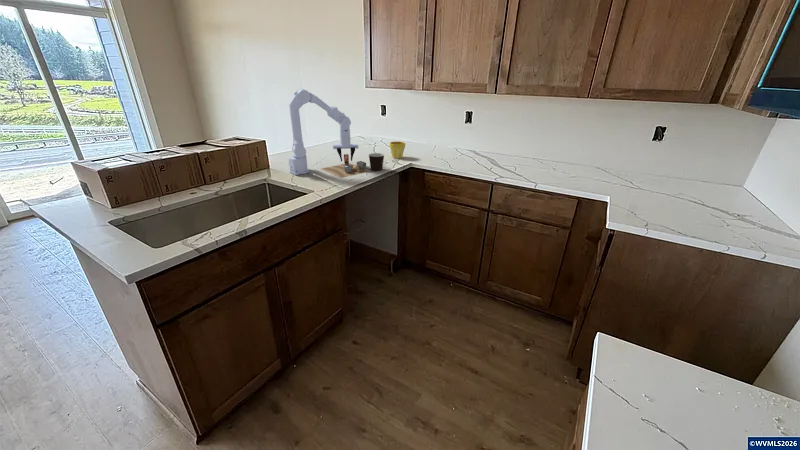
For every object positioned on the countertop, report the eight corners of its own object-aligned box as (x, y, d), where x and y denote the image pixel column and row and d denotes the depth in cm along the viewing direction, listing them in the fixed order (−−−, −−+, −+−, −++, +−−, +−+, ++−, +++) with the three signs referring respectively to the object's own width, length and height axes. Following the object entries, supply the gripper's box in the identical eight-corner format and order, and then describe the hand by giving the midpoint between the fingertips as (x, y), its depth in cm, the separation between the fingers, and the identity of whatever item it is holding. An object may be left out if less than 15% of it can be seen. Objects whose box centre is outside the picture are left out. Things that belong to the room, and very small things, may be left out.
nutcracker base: (341, 180, 177) (340, 169, 175) (320, 171, 192) (319, 161, 189) (371, 173, 190) (370, 163, 187) (349, 165, 204) (348, 155, 202)
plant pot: (396, 154, 231) (396, 140, 227) (408, 157, 226) (408, 142, 221) (386, 157, 224) (386, 142, 220) (398, 160, 218) (398, 145, 214)
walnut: (355, 172, 186) (355, 166, 184) (351, 171, 188) (351, 164, 187) (360, 171, 188) (360, 165, 187) (357, 169, 191) (356, 163, 189)
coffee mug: (378, 175, 187) (378, 157, 183) (366, 172, 191) (365, 155, 187) (389, 170, 196) (389, 153, 192) (377, 168, 200) (377, 151, 196)
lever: (352, 172, 184) (351, 161, 182) (345, 173, 184) (344, 161, 181) (349, 164, 200) (349, 153, 198) (343, 164, 199) (342, 154, 197)
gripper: (357, 135, 197) (358, 158, 202) (332, 136, 194) (333, 159, 200) (358, 138, 190) (359, 161, 196) (332, 138, 188) (334, 162, 193)
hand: (346, 160), depth 197 cm, fingers open, 5 cm apart
